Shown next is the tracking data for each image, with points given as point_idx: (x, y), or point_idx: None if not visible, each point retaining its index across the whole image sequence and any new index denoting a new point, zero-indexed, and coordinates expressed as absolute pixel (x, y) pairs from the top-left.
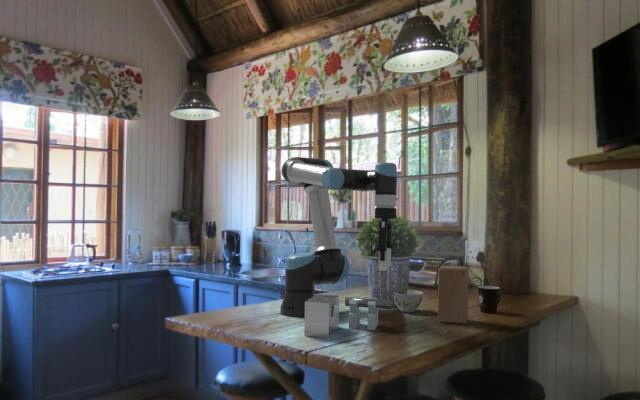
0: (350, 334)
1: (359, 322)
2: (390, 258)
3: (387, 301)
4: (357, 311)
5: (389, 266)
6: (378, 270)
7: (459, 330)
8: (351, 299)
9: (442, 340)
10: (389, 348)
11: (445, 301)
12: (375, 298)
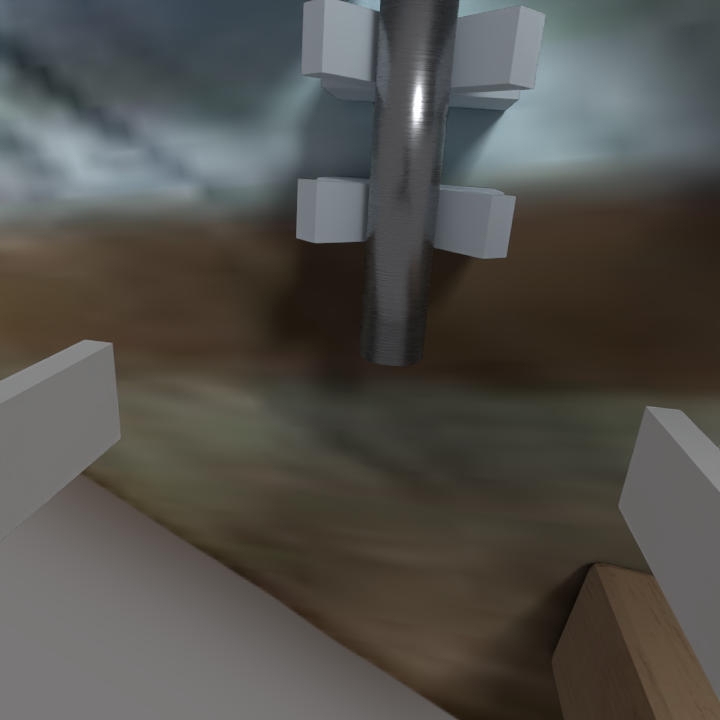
0: (193, 83)
1: (483, 107)
2: (665, 591)
3: (371, 333)
4: None
5: (622, 493)
6: (83, 341)
7: (417, 611)
8: (387, 10)
9: (212, 518)
10: (5, 301)
11: (608, 682)
12: (481, 236)
